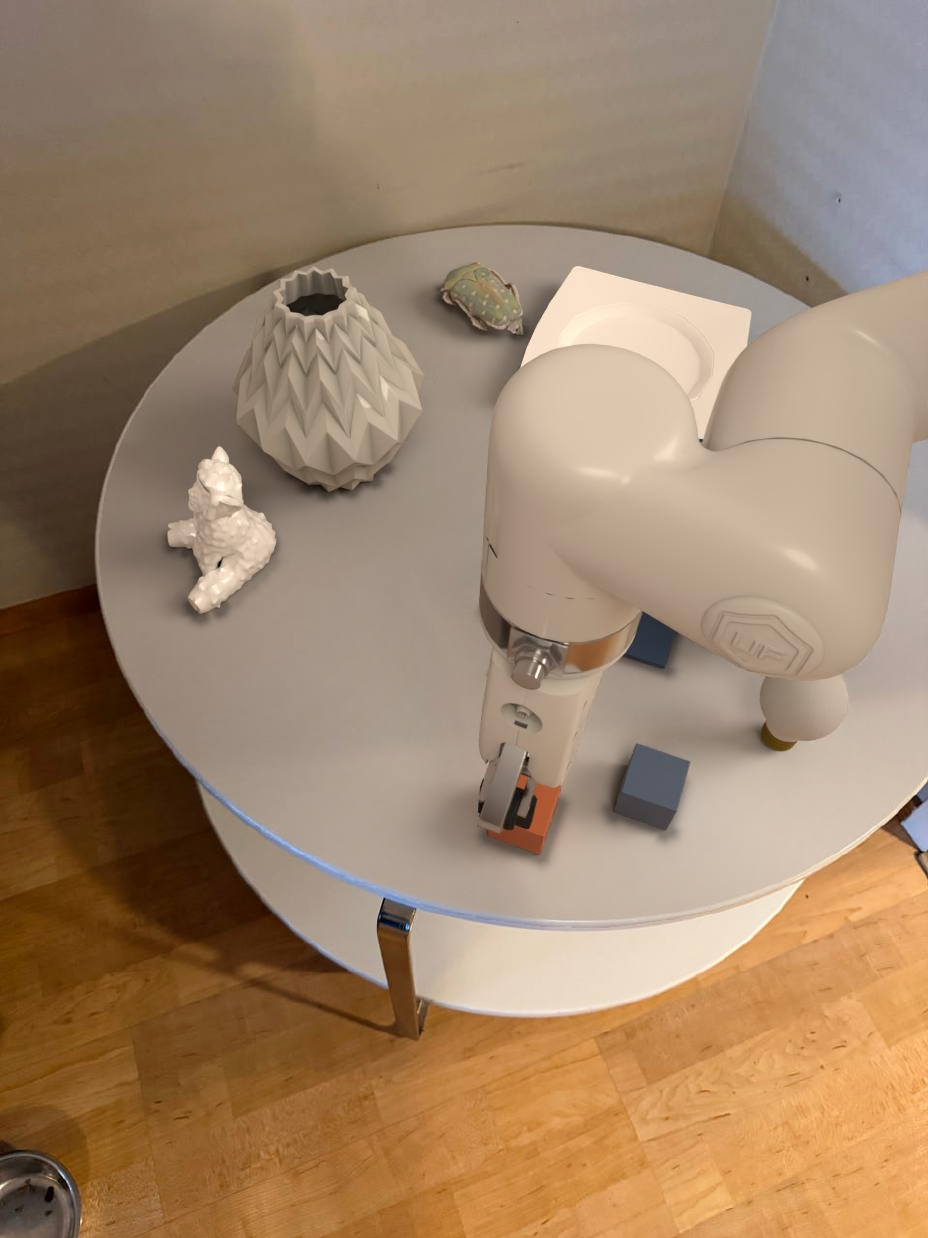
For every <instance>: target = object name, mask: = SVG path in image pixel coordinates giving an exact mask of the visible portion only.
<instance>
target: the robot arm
mask: <svg viewBox="0 0 928 1238" xmlns="http://www.w3.org/2000/svg"><path fill="white" fill-rule="evenodd" d="M520 367H521V366H520ZM490 420H491V421H490V428H489V435H488V448H487V467H486V481H485V496H484V497H485V498H484V516H483V533H482V534H483V535H482V553H481V555H482V556H481V565H480V566H481V567H480V583H479V597H478V616H479V621H480V626H481V628H482V631H483V633H484V636H485V637H486V639H487V640H488V642H489V644H490V646H492V649H491V655H490V659H489V665H488V669H487V671H486V683H485V688H484V694H483V700H482V708H481V715H480V721H479V729H478V730H479V731H478V750H479V751H478V752H479V755H480V757H481V759H482V761H483V762H484V763H485V764H487V768H486V772H485V775H484V778H482V780H481V782H480V785H479V791H478V798H477V802H478V803H477V811H476V813H477V814H478V821H477V824H476V826H477V827H478V828H482V829H484V830H487V831H488V830H489V831H492V832H495V833H497V834H501V832H502V831H503V829H505V830H513V829H514V827H515V826H518V827H520V828H523V829H530V826H531V823H532V820H533V816H534V812H535V808H536V804H537V799H538V798H536V796H535V795H534V792H535V789H536V786H537V783H538V784H541V785H544V786H548V787H552V788H555V787H558V786H560V785H561V786H562V785H563V784H564V783H565V781H566V780H567V778H568V775H569V773H570V771H571V767H572V765H573V763H574V759H575V757H576V754H577V752H578V748H579V746H580V743H581V740H582V738H583V735H584V731H585V728H586V726H587V724H588V720H589V717H590V714H591V712H592V709H593V706H594V703H595V700H596V697H597V694H598V692H599V688H600V684H601V682H602V679H603V676H604V672H605V670H607V669H608V668H610V667H611V666H613V665H614V664H616V663H617V662H618V661H619V660H620V659H621V658H622V657H623V655H624V654H625V652H626V651H627V650H628V648H629V646H630V645H631V643H632V641H633V639H634V637H635V634H636V631H637V628H638V625H639V622H640V619H641V616H642V613H643V611H644V612H645V613H647V614H649V615H650V616H652V617H653V618H655V619H657V620H658V621H660V622H662V623H663V624H665V625H667V626H668V627H670V628H672V629H673V630H675V631H676V633H679V634H680V635H682V636H684V637H685V638H686V639H688V640H690V641H692V642H694V643H695V644H696V645H699V646H701V647H703V648H704V649H706V650H708V651H710V652H711V653H713V654H715V655H717V656H718V657H720V658H723V659H724V660H726V661H727V662H729V663H731V664H732V665H734V666H735V667H737V668H740V669H742V670H744V671H746V672H749V673H752V674H755V675H758V676H763V677H766V676H767V677H774V678H781V679H787V680H796V681H814V680H821V679H828V678H831V677H834V676H837V675H843V674H844V673H846V672H849V671H850V670H852V669H853V668H855V667H856V666H857V665H859V664H860V663H861V662H862V661H863V660H864V659H865V658H866V657H867V656H868V654H869V653H870V652H871V651H872V650H873V648H874V646H875V645H876V643H877V641H878V639H879V637H880V635H881V632H882V630H883V626H884V623H885V620H886V616H887V613H888V609H889V602H890V595H891V590H892V584H893V575H894V568H895V561H896V555H897V546H898V541H899V540H898V539H899V532H900V525H901V519H902V512H903V505H904V499H905V492H906V486H907V479H908V473H909V467H910V460H911V454H912V448H913V444H915V443H918V442H922V441H926V440H928V269H927V270H923V271H920V272H917V273H914V274H910V275H907V276H904V277H900V278H897V279H894V280H890V281H887V282H884V283H881V284H878V285H874V286H871V287H868V288H865V289H862V290H859V291H856V292H853V293H850V294H846V295H844V296H841V297H837V298H835V299H832V300H829V301H826V302H823V303H821V304H818V305H815V306H812V307H810V308H808V309H805V310H802V311H801V312H798V313H797V314H795V315H793V316H791V317H789V318H786V319H785V320H783V321H782V322H779V323H778V324H776V325H774V326H772V327H770V328H769V329H767V330H766V331H764V332H763V333H761V334H760V335H758V337H756V338H755V339H754V340H753V341H751V342H750V343H749V344H747V347H746V348H745V349H744V350H743V351H742V352H741V353H740V354H739V356H738V357H737V358H736V360H735V361H734V363H733V364H732V365H731V367H730V368H729V369H728V371H727V373H726V375H725V377H724V379H723V381H722V383H721V386H720V389H719V392H718V394H717V397H716V400H715V403H714V406H713V409H712V412H711V415H710V418H709V421H708V424H707V427H706V431H705V434H704V438H703V442H700V441H699V438H698V429H697V424H696V419H695V414H694V410H693V407H692V405H691V403H690V400H689V398H688V396H687V394H686V393H685V391H684V390H683V389H682V387H681V386H680V385H679V383H678V382H677V381H676V380H675V378H674V377H673V376H671V375H670V374H669V373H668V372H667V371H666V370H665V369H664V368H662V367H661V366H659V365H658V364H657V363H655V362H654V361H652V360H650V359H648V358H646V357H644V356H642V355H640V354H638V353H635V352H632V351H629V350H627V349H623V348H619V347H614V346H610V345H599V344H578V345H572V346H566V347H561V348H557V349H553V350H551V351H548V352H546V353H543V354H541V355H539V356H537V357H536V358H534V359H532V360H531V361H529V362H528V363H526V364H525V365H524V366H522V367H521V368H519V369H518V370H516V371H515V372H514V373H513V374H512V376H511V377H510V378H509V380H508V381H507V382H506V383H505V384H504V386H503V387H502V389H501V391H500V393H499V395H498V397H497V400H496V402H495V404H494V407H493V411H492V413H491V419H490ZM521 774H522V775H525V776H527V777H528V779H527V782H526V785H525V788H524V789H521V788H519V787H517V785H518V782H519V779H520V776H521Z"/></svg>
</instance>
